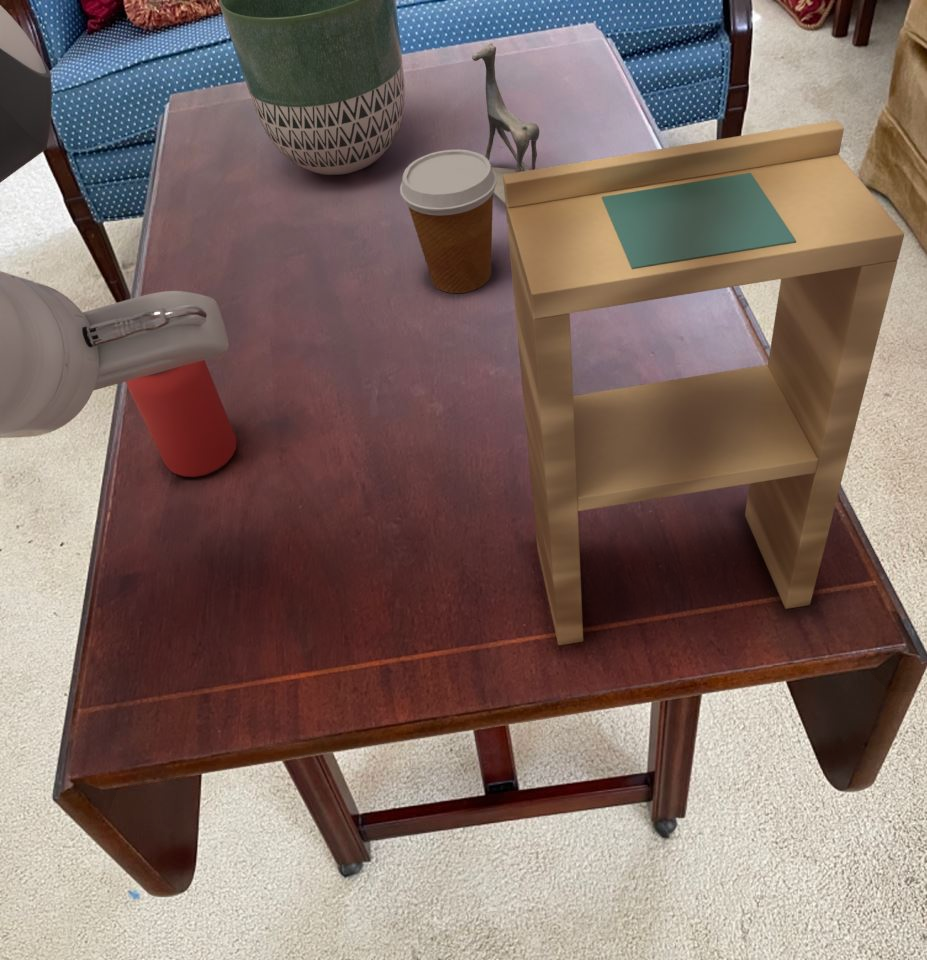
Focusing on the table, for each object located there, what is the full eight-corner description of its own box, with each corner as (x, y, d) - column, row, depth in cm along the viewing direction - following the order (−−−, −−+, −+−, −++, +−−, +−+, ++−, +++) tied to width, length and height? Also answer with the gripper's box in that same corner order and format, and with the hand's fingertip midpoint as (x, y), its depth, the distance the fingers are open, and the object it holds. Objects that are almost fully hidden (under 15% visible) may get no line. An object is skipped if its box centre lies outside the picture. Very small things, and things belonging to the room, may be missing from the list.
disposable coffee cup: (424, 311, 96) (405, 205, 87) (410, 261, 102) (391, 158, 94) (515, 291, 96) (505, 184, 87) (495, 243, 103) (484, 139, 94)
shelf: (558, 645, 66) (529, 267, 44) (537, 548, 73) (502, 174, 50) (810, 605, 66) (912, 205, 44) (767, 511, 72) (837, 119, 50)
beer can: (231, 478, 82) (186, 373, 73) (158, 483, 83) (105, 379, 74) (244, 426, 86) (203, 321, 78) (175, 432, 87) (127, 328, 78)
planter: (429, 121, 125) (402, -56, 109) (410, 198, 111) (377, 9, 96) (288, 131, 127) (243, -40, 112) (253, 207, 114) (197, 25, 99)
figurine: (556, 198, 108) (550, 67, 97) (502, 211, 107) (490, 81, 96) (527, 156, 115) (518, 30, 104) (476, 168, 114) (462, 42, 104)
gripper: (172, 250, 51) (237, 286, 65) (-182, 350, 52) (-43, 364, 66) (205, 363, 51) (262, 374, 65) (-147, 460, 52) (-17, 451, 66)
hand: (107, 370), depth 65 cm, fingers open, 8 cm apart
